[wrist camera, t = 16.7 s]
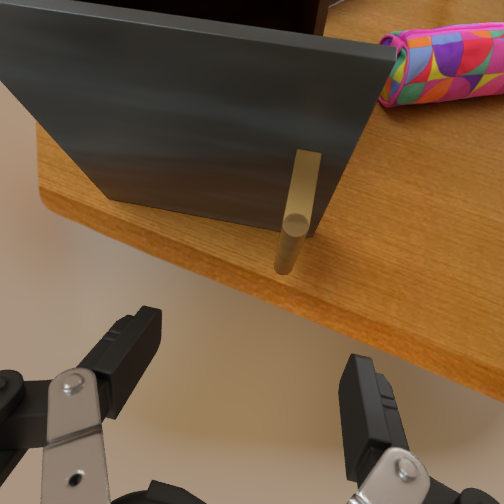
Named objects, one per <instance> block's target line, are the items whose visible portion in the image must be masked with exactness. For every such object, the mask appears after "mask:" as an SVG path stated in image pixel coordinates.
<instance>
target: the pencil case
mask: <svg viewBox="0 0 504 504" xmlns="http://www.w3.org/2000/svg"><path fill="white" fill-rule="evenodd" d="M379 45H386V46H393V47H397V57H396V63H395V65H394V67H393V69H392V71H391V73H390V75H389V78H388V80H387V82H386V84H385V86H384V88H383V90H382V92H381V94H380V96H379V101H380V103H381V104H382V105H383V106H385V107H393V106H399V105H400V106H401V105H407V104H425V103H434V102H443V101H447V100H448V101H450V100H457V99H465V98H472V97H480V96H489V95H499V94H504V22H492V23H475V24H465V25H452V26H445V27H438V28H435V29H430V30H421V29H414V30H409V31H404V30H401V31H396V32H390V33H388V34H387V35H385V36H384V37H383V38H382V39H381V41H380V42H379Z"/></svg>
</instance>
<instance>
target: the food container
mask: <svg viewBox="0 0 504 504" xmlns="http://www.w3.org/2000/svg"><path fill="white" fill-rule="evenodd" d="M342 1H344V0H330V4H329V8H330V7H332V6H334V5H336V4H338V3H340V2H342Z"/></svg>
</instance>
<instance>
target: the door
mask: <svg viewBox="0 0 504 504" xmlns="http://www.w3.org/2000/svg"><path fill="white" fill-rule="evenodd" d="M396 57H397V47H393V46H386V45H379V44H372V43H365V42H358V41H351V40H344V39H337V38H330V37H323V36H317V35H310V34H303V33H296V32H289V31H282V30H275V29H268V28H261V27H254V26H247V25H240V24H233V23H226V22H219V21H212V20H206V19H199V18H192V17H185V16H178V15H171V14H164V13H157V12H150V11H143V10H136V9H129V8H122V7H115V6H108V5H101V4H94V3H88V2H81V1H74V0H0V81H1V82H2V83H3V84H4V85H5V86H6V87H7V88H8V89H9V91H10V92H11V93H12V94H13V95H14V96H15V97H16V98H17V99H18V101H20V103H21V104H22V105H23V106H24V107H25V108H26V109H27V110H28V111H29V112H30V113H31V115H32V116H33V117H34V118H35V119H36V120H37V121H38V122H39V124H40V125H41V126H42V127H43V128H44V129H45V130H46V131H47V132H48V133H49V135H50V136H51V137H52V138H53V139H54V140H55V141H56V142H57V143H58V144H59V146H60V147H61V148H62V149H63V150H64V151H65V152H66V153H67V154H68V155H69V157H70V158H71V159H72V160H73V161H74V162H75V163H76V164H77V165H78V166H79V168H80V169H81V170H82V171H83V172H84V173H85V174H86V175H87V176H88V177H89V179H90V180H91V181H92V182H93V183H94V184H95V185H96V186H97V187H98V188H99V190H100V191H101V192H102V193H103V194H104V195H105V196H106V197H107V198H108V199H113V200H118V201H123V202H129V203H134V204H139V205H144V206H149V207H155V208H160V209H165V210H170V211H176V212H181V213H186V214H191V215H196V216H202V217H207V218H212V219H217V220H223V221H228V222H233V223H238V224H244V225H249V226H254V227H259V228H264V229H270V230H275V231H280V237H279V242H278V247H277V252H276V257H275V262H274V269H275V271H276V272H277V273H278V274H280V275H287V274H289V273H290V272H291V271H292V268H293V266H294V264H295V261H296V259H297V256H298V254H299V252H300V249H301V247H302V244H303V242H304V240H305V237H313V235H314V233H315V231H316V229H317V227H318V225H319V223H320V220H321V218H322V216H323V214H324V212H325V210H326V208H327V206H328V204H329V202H330V199H331V197H332V195H333V193H334V191H335V189H336V187H337V185H338V183H339V181H340V178H341V176H342V174H343V172H344V170H345V168H346V166H347V164H348V162H349V159H350V157H351V155H352V153H353V151H354V149H355V147H356V145H357V143H358V141H359V138H360V136H361V134H362V132H363V130H364V128H365V126H366V124H367V122H368V120H369V117H370V115H371V113H372V111H373V109H374V107H375V105H376V103H377V101H378V99H379V96H380V94H381V92H382V90H383V88H384V86H385V84H386V82H387V80H388V78H389V75H390V73H391V71H392V69H393V67H394V65H395V63H396Z"/></svg>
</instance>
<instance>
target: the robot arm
mask: <svg viewBox="0 0 504 504" xmlns="http://www.w3.org/2000/svg"><path fill="white" fill-rule="evenodd" d="M161 329H162V311H161V310H160V309H157V308H152V307H148V306H142V307H141V308H140V310H139V311H138V312H137V313H136V315H135V316H132V315H126V316H125V317H123V318H121V319H119V320H118V321H116V322H115V323H114V325H113V326H112V327H111V328H110V329H109V331H108V332H107V333H106V334H105V335H104V336H103V338H102V339H101V340H100V341H99V342H98V343H97V344H96V345H95V346H94V348H93V349H92V350H91V351H90V352H89V353H88V355H87V356H86V357H85V358H84V359H83V360H82V361H81V362H80V364H79V365H78V366H77V367H76V368H72V369H68V370H66V371H64V372H62V373H60V374H59V375H58V376H56V377H55V378H54V379H52V380H42V381H41V380H40V381H24V380H23V377H22V375H21V374H20V373H19V372H17V371H14V370H1V371H0V487H1V486H2V484H3V483H4V481H5V480H6V479H7V477H8V476H9V474H10V473H11V472H12V471H13V469H14V468H15V467H16V465H17V464H18V462H19V461H20V460H21V458H22V457H23V456H24V454H25V453H26V452H27V450H28V449H29V448H38V447H43V459H42V484H41V504H206V503H205V502H203V501H202V500H200V499H199V498H197V497H196V496H194V495H192V494H191V493H189V492H188V491H186V490H185V489H183V488H180V487H176V486H173V485H169V484H165V483H162V482H158V481H155V480H152V481H151V483H150V485H149V488H148V490H144V491H138V492H133V493H129V494H126V495H124V496H121V497H119V498H117V499H115V500H114V501H112V502H111V500H110V493H109V483H108V476H107V475H108V474H107V466H106V458H105V448H104V440H103V431H102V422H103V420H104V419H105V417H107V418H111V419H114V420H115V419H116V418H117V416H118V415H119V413H120V411H121V410H122V408H123V406H124V405H125V403H126V401H127V400H128V398H129V396H130V395H131V393H132V391H133V390H134V388H135V386H136V385H137V383H138V382H139V380H140V378H141V377H142V375H143V373H144V372H145V370H146V368H147V367H148V365H149V364H150V362H151V360H152V359H153V357H154V355H155V354H156V352H157V350H158V348H159V345H160V341H161ZM338 394H339V405H340V416H341V425H342V436H343V446H344V456H345V467H346V477H347V480H349V481H353V482H357V485H358V491H357V492H356V493H355V494H354V495H353V496H352V497H351V499H350V500H349V501H348V503H347V504H499V503H498V502H497V501H496V500H495V499H494V498H493V497H491V496H490V495H488V494H487V493H485V492H483V491H481V490H479V489H475V488H467V489H465V490H463V491H462V492H461V494H459V493H458V492H456V491H454V490H452V489H450V488H449V487H447V486H445V485H444V484H442V483H440V482H438V481H436V480H435V479H433V478H432V477H430V476H429V475H428V472H427V470H426V468H425V466H424V465H423V464H422V463H421V461H420V460H419V459H418V458H417V457H416V456H415V455H413V454H412V453H411V452H410V450H409V446H408V443H407V439H406V436H405V433H404V429H403V425H402V422H401V418H400V415H399V412H398V411H397V409H398V408H397V404H396V401H395V397H394V394H393V390H392V387H391V385H390V384H389V382H388V381H387V379H386V378H385V376H384V375H383V374H380V373H376V372H375V369H374V365H373V361H372V359H371V358H370V357H365V356H361V355H357V354H351V355H350V357H349V360H348V362H347V364H346V367H345V369H344V372H343V375H342V377H341V380H340V384H339V392H338Z"/></svg>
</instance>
